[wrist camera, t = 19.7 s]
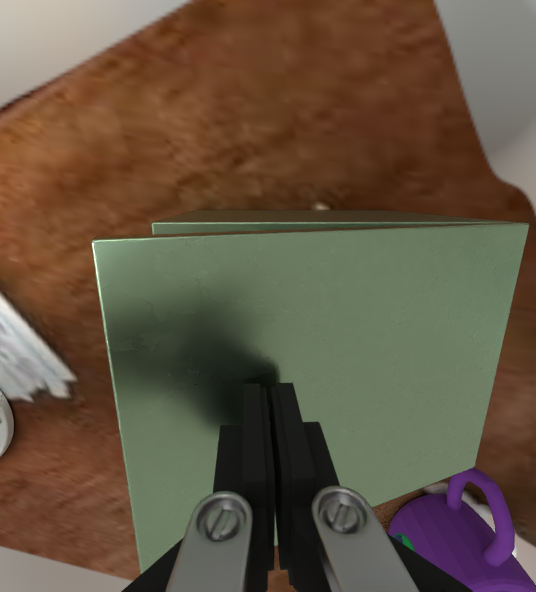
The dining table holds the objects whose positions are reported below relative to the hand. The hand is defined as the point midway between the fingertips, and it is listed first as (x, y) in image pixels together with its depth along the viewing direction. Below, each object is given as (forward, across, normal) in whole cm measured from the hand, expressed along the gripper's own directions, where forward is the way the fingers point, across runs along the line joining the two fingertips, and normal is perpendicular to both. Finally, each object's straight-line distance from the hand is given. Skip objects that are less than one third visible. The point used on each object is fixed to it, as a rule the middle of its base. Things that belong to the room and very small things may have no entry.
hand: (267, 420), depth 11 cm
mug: (+19, -20, +26) cm, 38 cm away
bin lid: (+2, -3, 0) cm, 4 cm away
